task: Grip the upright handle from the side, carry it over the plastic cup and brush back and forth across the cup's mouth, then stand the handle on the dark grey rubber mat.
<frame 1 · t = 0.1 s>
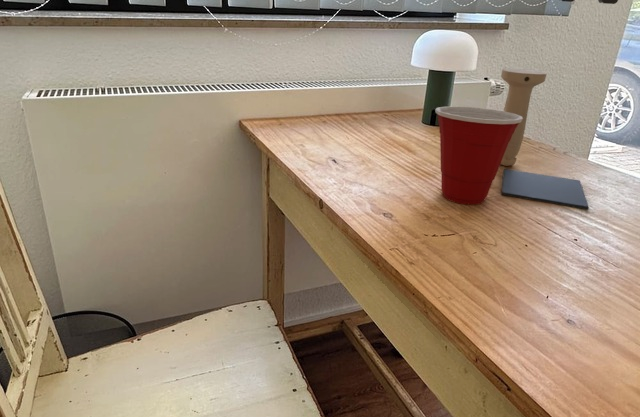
hand: (585, 2, 64), 25 cm above the table, tool pointing down, fingers open, 8 cm apart
handle: (504, 164, 82), on the table
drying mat: (542, 188, 72), on the table
plastic cup: (462, 197, 68), on the table
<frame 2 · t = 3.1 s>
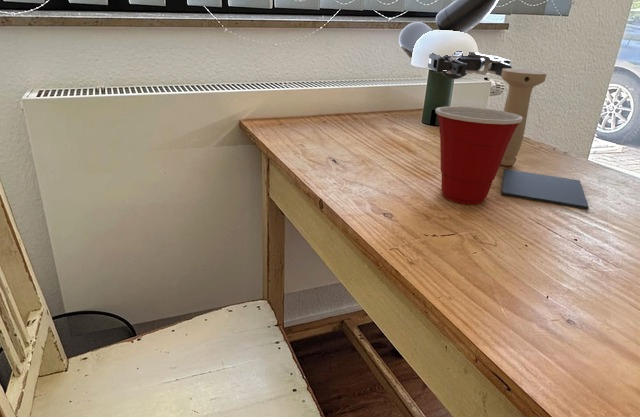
hand: (486, 71, 86), 13 cm above the table, tool horizontal, fingers open, 8 cm apart
nothing on the table moved.
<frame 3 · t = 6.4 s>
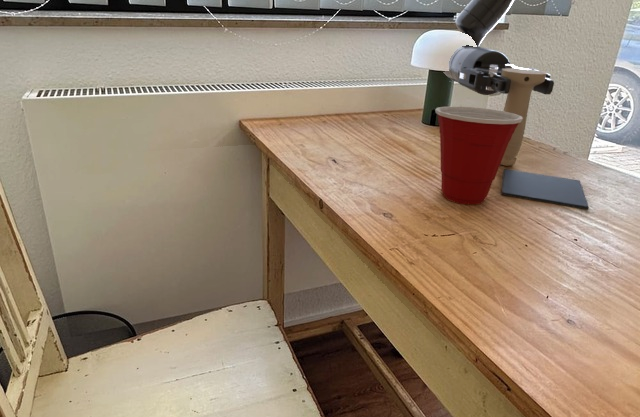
hand: (529, 87, 74), 13 cm above the table, tool horizontal, fingers closed on handle, 6 cm apart
handle: (504, 164, 82), on the table, touching gripper
everything else where it was.
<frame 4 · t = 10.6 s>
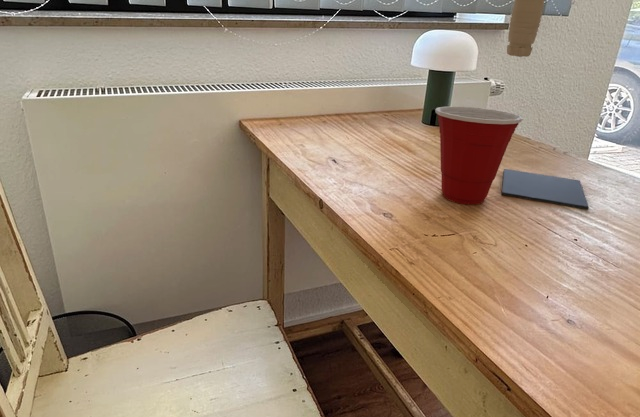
handle: (517, 57, 71), point 17 cm above the table, touching gripper
everything else where it was.
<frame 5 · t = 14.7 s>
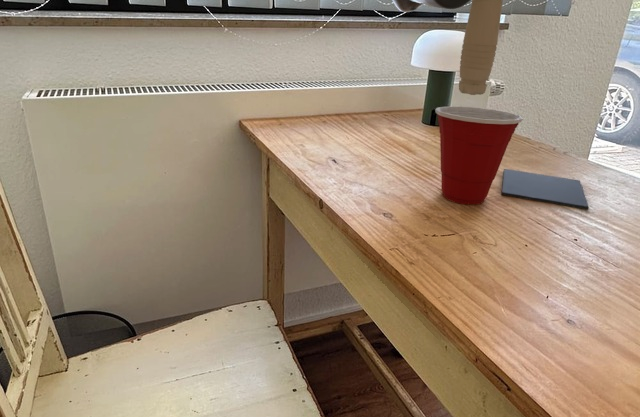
handle: (471, 94, 62), point 14 cm above the table, touching gripper
everything else where it was.
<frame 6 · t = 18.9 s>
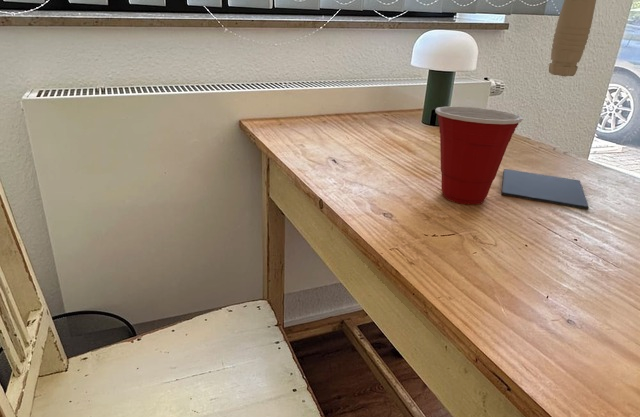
handle: (560, 76, 65), point 16 cm above the table, touching gripper
everything else where it was.
when the fingers open (13 cm above the table, at t = 22.9 s): handle stays where it is, resting on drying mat.
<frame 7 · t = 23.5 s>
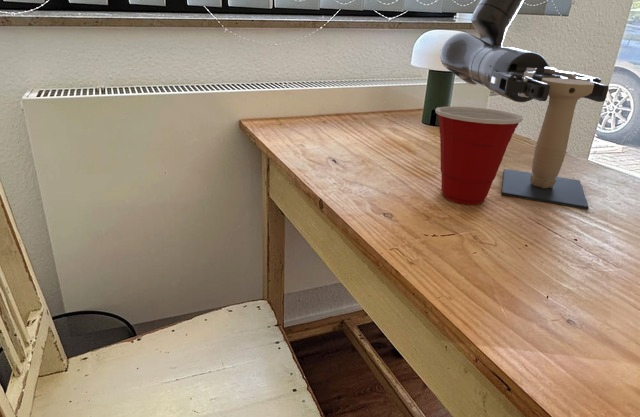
hand: (575, 93, 64), 14 cm above the table, tool horizontal, fingers open, 8 cm apart
handle: (541, 186, 72), resting on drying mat
everything else where it was.
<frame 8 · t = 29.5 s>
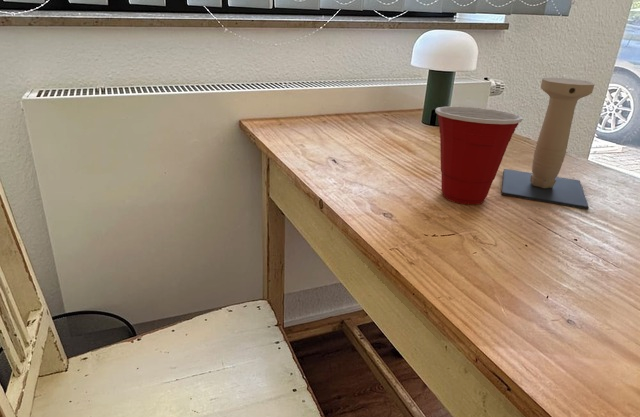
nothing on the table moved.
at the end: handle inside the target area (0.3 cm from its centre), resting on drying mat; handle tilted 0°; plastic cup moved 0.2 cm from its start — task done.
